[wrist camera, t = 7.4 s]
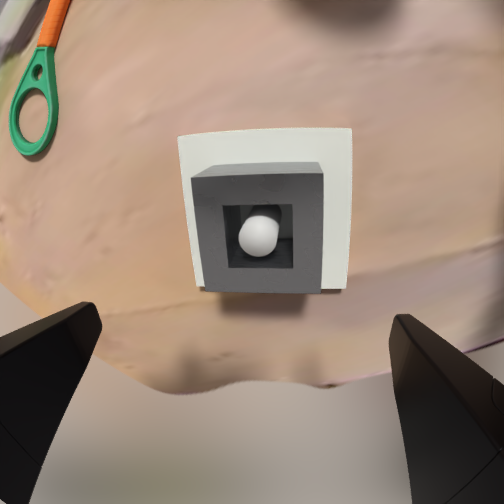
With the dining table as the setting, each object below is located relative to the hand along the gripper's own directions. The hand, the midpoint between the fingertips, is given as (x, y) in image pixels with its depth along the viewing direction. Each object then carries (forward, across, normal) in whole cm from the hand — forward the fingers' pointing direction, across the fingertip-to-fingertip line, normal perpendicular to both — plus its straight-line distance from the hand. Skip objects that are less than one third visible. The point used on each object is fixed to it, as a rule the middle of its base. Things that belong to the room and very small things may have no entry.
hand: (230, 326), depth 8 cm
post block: (+12, 0, 0) cm, 12 cm away
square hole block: (+11, 0, 0) cm, 11 cm away
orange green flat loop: (+13, +17, -13) cm, 25 cm away
